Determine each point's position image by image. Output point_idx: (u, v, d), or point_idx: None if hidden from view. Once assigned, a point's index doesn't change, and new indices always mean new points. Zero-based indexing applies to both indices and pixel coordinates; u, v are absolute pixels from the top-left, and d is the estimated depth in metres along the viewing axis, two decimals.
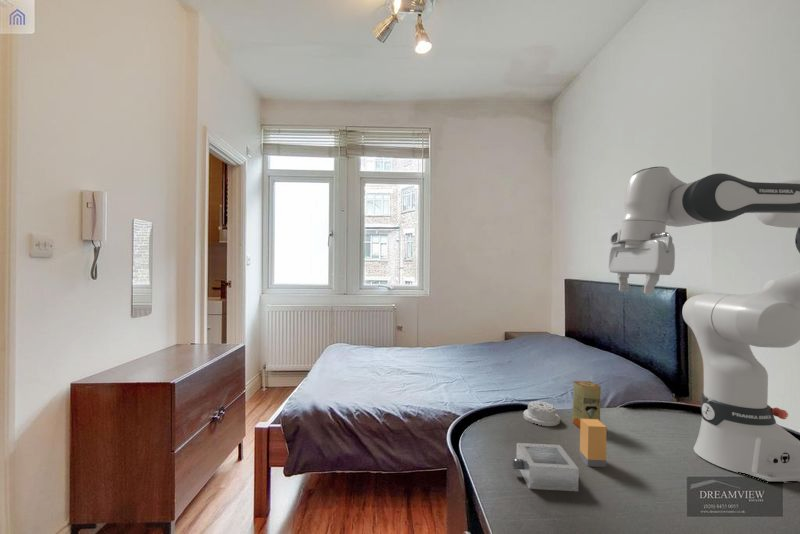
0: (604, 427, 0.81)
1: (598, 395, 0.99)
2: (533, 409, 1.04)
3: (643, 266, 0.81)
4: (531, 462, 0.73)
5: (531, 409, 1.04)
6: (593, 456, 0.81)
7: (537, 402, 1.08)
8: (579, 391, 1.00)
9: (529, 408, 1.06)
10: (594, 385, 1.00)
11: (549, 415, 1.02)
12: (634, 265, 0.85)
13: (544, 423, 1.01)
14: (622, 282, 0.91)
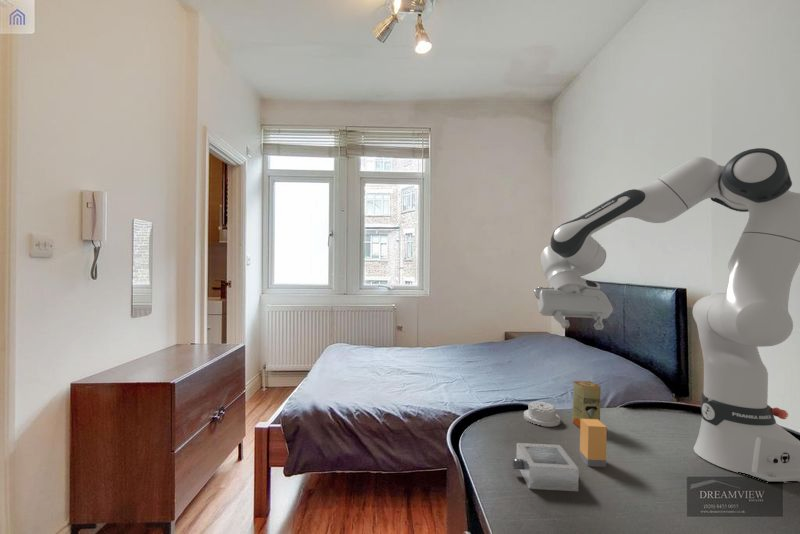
0: (604, 427, 0.81)
1: (598, 395, 0.99)
2: (533, 409, 1.04)
3: None
4: (531, 462, 0.73)
5: (531, 410, 1.04)
6: (593, 456, 0.81)
7: (537, 402, 1.08)
8: (579, 391, 1.00)
9: (529, 408, 1.05)
10: (594, 385, 1.00)
11: (550, 416, 1.02)
12: None
13: (544, 423, 1.01)
14: None
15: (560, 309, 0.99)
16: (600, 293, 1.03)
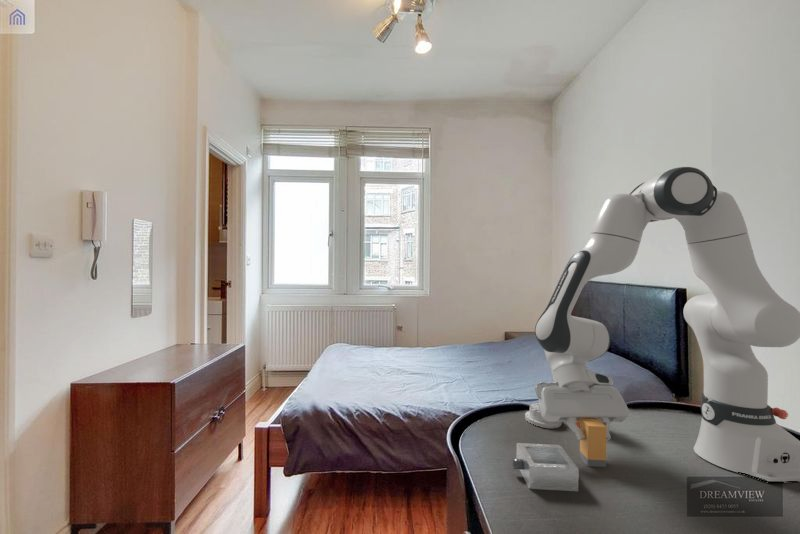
0: (604, 427, 0.81)
1: None
2: (535, 411, 1.03)
3: None
4: (531, 462, 0.73)
5: (533, 411, 1.03)
6: (593, 456, 0.81)
7: (539, 404, 1.07)
8: None
9: (531, 410, 1.04)
10: None
11: None
12: None
13: (546, 425, 1.00)
14: None
15: (566, 415, 0.84)
16: (613, 390, 0.88)
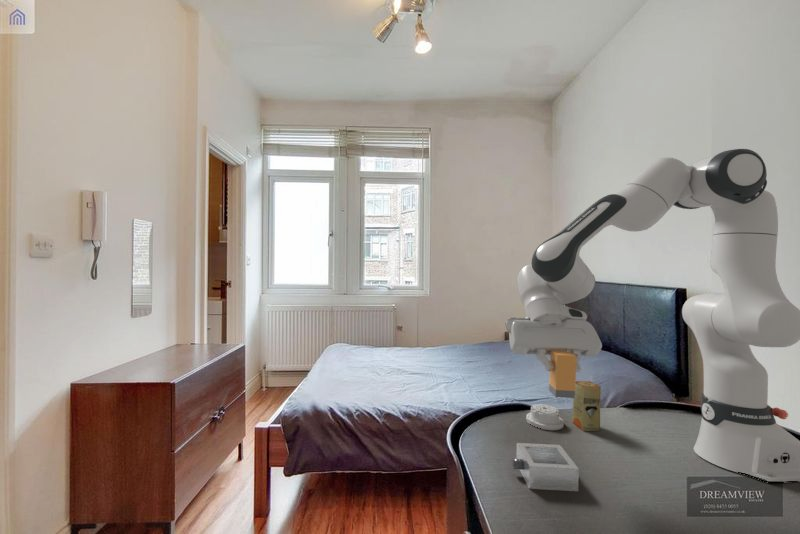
0: (574, 356, 0.77)
1: (598, 395, 0.99)
2: (536, 412, 1.02)
3: None
4: (531, 462, 0.73)
5: (534, 412, 1.02)
6: (562, 387, 0.77)
7: (540, 405, 1.05)
8: (579, 391, 1.00)
9: (532, 411, 1.03)
10: (594, 385, 1.00)
11: (552, 419, 1.00)
12: None
13: (547, 427, 0.99)
14: None
15: (535, 347, 0.80)
16: (586, 325, 0.84)
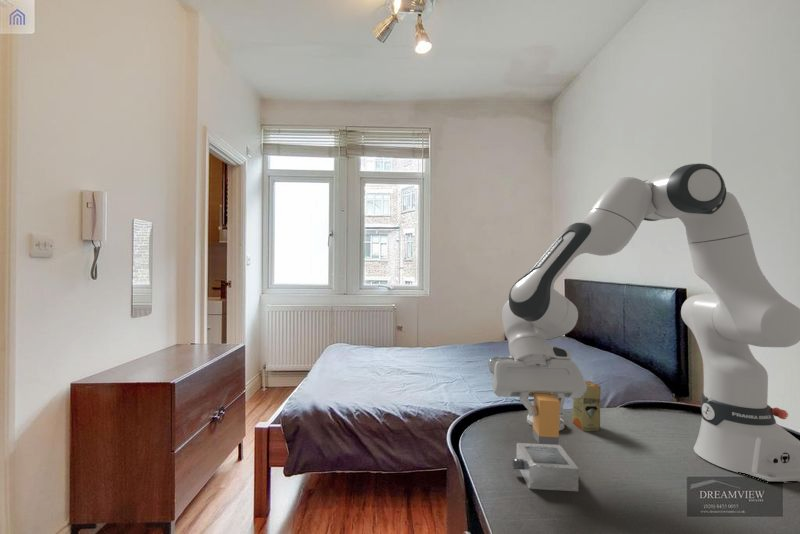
0: (557, 401, 0.75)
1: (598, 395, 0.99)
2: None
3: None
4: (531, 462, 0.73)
5: None
6: (545, 433, 0.75)
7: None
8: None
9: None
10: (594, 385, 1.00)
11: None
12: None
13: None
14: None
15: (518, 390, 0.78)
16: (571, 365, 0.82)
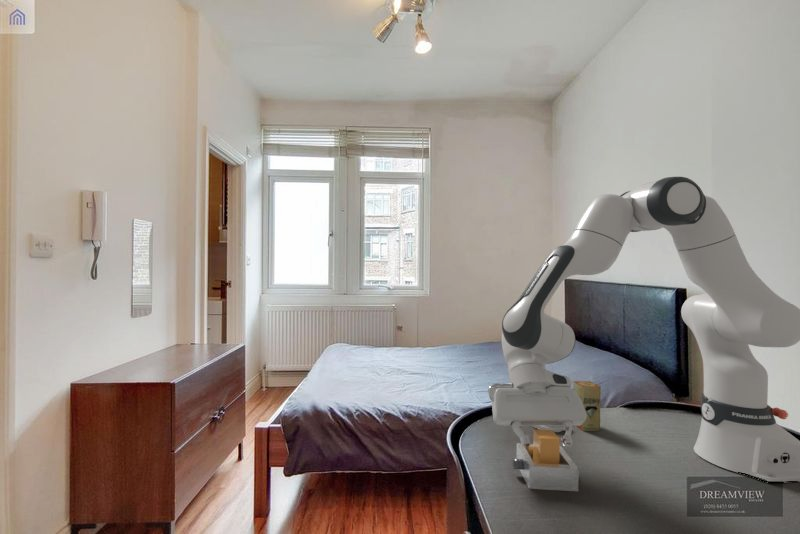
0: (557, 439, 0.75)
1: (598, 395, 0.99)
2: None
3: None
4: (531, 462, 0.73)
5: None
6: None
7: None
8: (579, 391, 1.00)
9: None
10: (594, 385, 1.00)
11: None
12: None
13: (548, 429, 0.97)
14: (565, 435, 0.78)
15: (518, 419, 0.78)
16: (571, 392, 0.82)
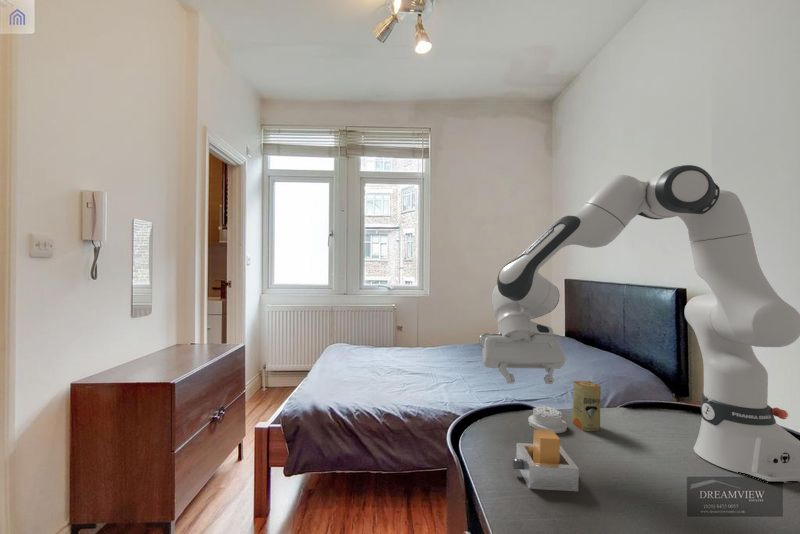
0: (557, 439, 0.75)
1: (598, 395, 0.99)
2: (538, 415, 1.00)
3: None
4: (531, 462, 0.73)
5: (536, 415, 1.00)
6: None
7: (543, 408, 1.04)
8: (579, 391, 1.00)
9: (534, 414, 1.02)
10: (594, 385, 1.00)
11: (555, 422, 0.98)
12: None
13: None
14: (548, 375, 0.88)
15: (505, 361, 0.88)
16: (552, 340, 0.92)
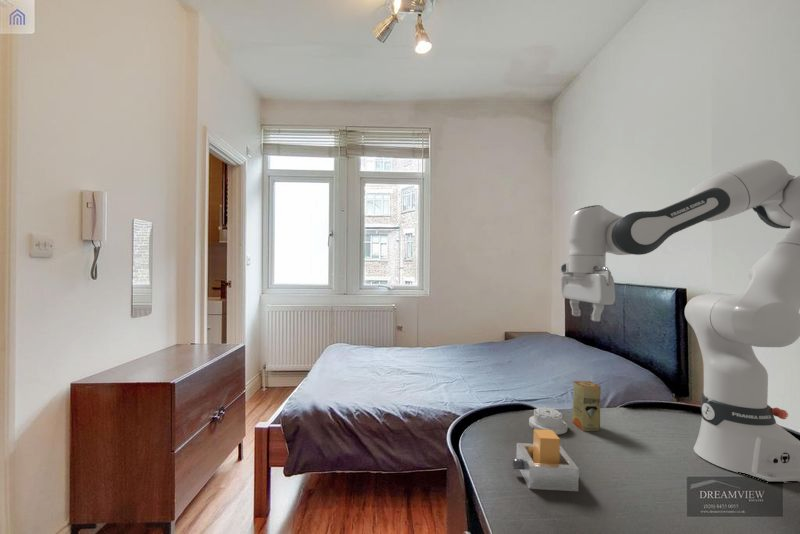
0: (557, 439, 0.75)
1: (598, 395, 0.99)
2: (538, 416, 0.99)
3: (589, 296, 0.91)
4: (531, 462, 0.73)
5: (536, 416, 1.00)
6: None
7: (544, 408, 1.03)
8: (579, 391, 1.00)
9: (534, 415, 1.01)
10: (594, 385, 1.00)
11: (555, 423, 0.97)
12: (582, 294, 0.95)
13: None
14: (574, 307, 1.02)
15: None
16: None
